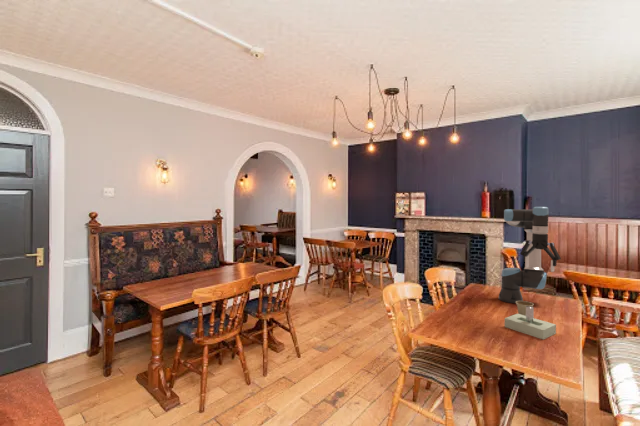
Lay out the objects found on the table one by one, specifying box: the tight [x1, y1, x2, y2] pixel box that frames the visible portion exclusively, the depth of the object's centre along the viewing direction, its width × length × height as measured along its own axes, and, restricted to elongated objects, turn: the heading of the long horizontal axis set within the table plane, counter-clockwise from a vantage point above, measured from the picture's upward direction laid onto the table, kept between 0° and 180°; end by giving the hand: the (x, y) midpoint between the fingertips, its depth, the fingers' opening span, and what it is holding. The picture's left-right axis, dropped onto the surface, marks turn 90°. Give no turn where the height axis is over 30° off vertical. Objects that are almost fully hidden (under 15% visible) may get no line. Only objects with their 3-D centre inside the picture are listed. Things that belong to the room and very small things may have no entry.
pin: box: [526, 306, 535, 324], centre depth 178 cm, size 4×4×12 cm
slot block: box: [504, 313, 557, 340], centre depth 178 cm, size 14×20×5 cm
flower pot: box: [515, 300, 535, 316], centre depth 198 cm, size 9×9×9 cm
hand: (539, 269), depth 186 cm, fingers open, 13 cm apart
